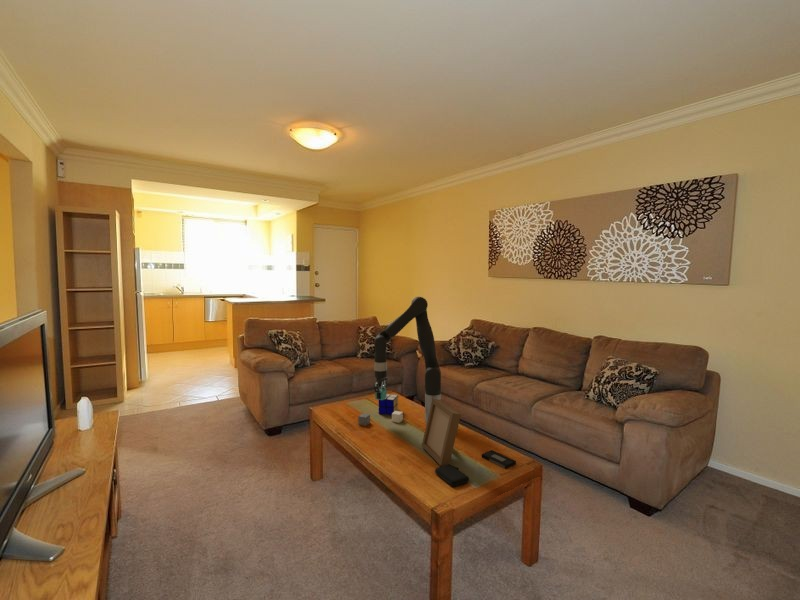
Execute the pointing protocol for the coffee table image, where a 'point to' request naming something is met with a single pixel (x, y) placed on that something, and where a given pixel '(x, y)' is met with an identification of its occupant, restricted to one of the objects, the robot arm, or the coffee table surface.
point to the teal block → (382, 394)
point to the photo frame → (441, 431)
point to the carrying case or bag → (452, 475)
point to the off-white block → (397, 416)
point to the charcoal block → (364, 419)
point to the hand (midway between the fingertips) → (380, 397)
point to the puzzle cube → (388, 405)
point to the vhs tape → (498, 459)
